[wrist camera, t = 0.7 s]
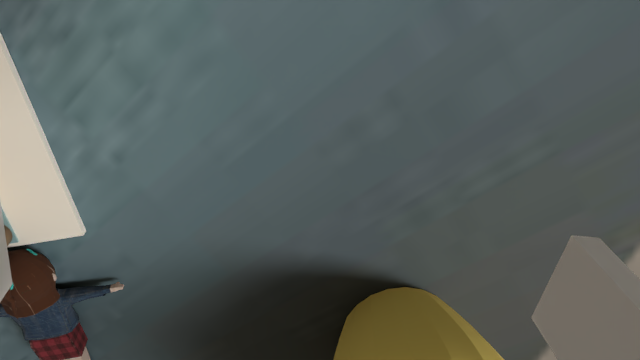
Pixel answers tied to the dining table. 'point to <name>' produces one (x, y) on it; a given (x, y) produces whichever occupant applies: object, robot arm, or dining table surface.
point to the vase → (409, 330)
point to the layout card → (29, 169)
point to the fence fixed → (8, 235)
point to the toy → (47, 307)
